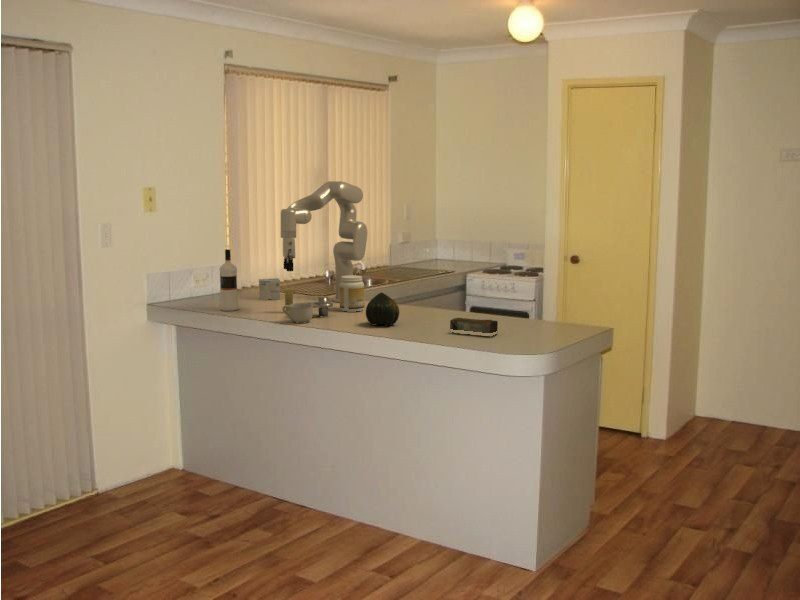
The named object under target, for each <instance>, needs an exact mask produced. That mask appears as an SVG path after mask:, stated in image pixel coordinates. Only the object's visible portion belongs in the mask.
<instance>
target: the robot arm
mask: <svg viewBox="0 0 800 600" xmlns="http://www.w3.org/2000/svg"><path fill="white" fill-rule="evenodd" d="M363 197H364V191H363V190H362V189H361V188H360V187H358V186H356V185H354V184H351V183H348V182H345V181H339V180H337V181H334V180H332V181H331V180H330V181H326V182H324V183H323V184H322V185H321V186H320V187H318V188H317V189H316V190H315V191H313V193H312V194H310V195H306V196H305V197H302V198H301V199H297V200H295V201H294V202H293V203H292V204H290V205H289V206H288V207H287V208H283V209H281V211H280V238H282V257H283V270H286V272H294V259H296V240H295V239H296V238H297V225H305V224H306V225H307V224H309V223H310V221H311V220H312V218H313V217H312V212H313V211H318V210H321V209H322V208H324V207H325V206H326V205H328V204H329V203H330V202H331V201H332V200H333V199H334V201H335V202H336V203H337V206H338V207H339V210H340V212H339V214H340V216H339V224H338V235H339V237H340V238H342V239H345V241H344V240H343V241H341V240H340V241H338V242H336V243H335V244H334V245H333V249H332V250H333V257H334V264H335V265H334V266H335V269H334V270H335V271H334V273H335V274H334V275H335V277H334V279H335V280H334V281H335V297H334V298H332V302H335V303H339V304H340V283H341V282H342V280H341V277H342V276H349V275H354V265H353V263H352V261H356V262H358V261H361V260H363V259H364V257H365V255H366V249H367V240H368V228H367V224H366V223H364V222H362V221H359V220H358V221H357V215H358V213H357V212H358V211H357V209H356V208H357V207H356V206H355V204H359V203H361V202H362V201H363V199H364V198H363ZM346 240H352V241H346Z"/></svg>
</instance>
